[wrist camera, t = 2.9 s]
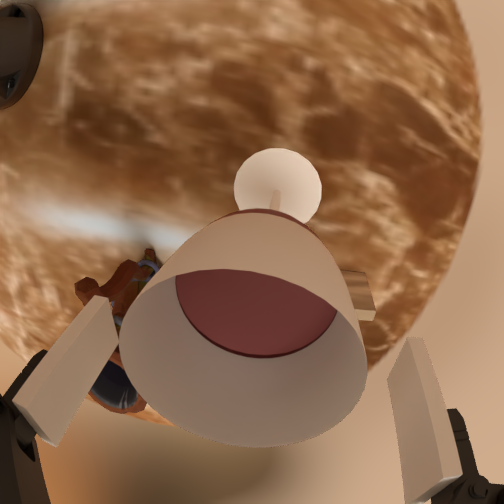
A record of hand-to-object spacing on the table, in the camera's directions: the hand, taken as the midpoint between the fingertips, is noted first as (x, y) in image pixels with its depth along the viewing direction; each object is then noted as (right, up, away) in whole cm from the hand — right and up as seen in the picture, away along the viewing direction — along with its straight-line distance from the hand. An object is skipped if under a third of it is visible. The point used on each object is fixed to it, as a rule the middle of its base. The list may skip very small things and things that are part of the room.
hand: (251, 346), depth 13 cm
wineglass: (+3, +10, +18) cm, 21 cm away
